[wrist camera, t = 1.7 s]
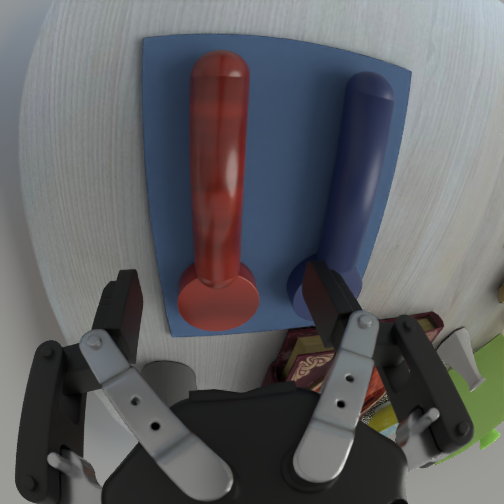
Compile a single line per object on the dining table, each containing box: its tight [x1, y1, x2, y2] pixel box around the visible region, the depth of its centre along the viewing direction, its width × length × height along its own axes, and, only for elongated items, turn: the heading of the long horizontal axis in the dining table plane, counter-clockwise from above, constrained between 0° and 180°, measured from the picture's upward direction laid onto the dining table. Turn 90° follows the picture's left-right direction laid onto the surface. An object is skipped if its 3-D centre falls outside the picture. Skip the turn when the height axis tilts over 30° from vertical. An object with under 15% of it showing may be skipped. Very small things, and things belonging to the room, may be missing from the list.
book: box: [262, 312, 444, 420], centre depth 33 cm, size 28×21×5 cm
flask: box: [436, 328, 485, 392], centre depth 33 cm, size 7×7×10 cm
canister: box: [434, 333, 504, 465], centre depth 44 cm, size 25×21×23 cm
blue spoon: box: [286, 71, 395, 321], centre depth 17 cm, size 18×6×3 cm, turn 177°
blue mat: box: [142, 34, 412, 337], centre depth 18 cm, size 22×16×1 cm
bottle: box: [138, 361, 197, 442], centre depth 21 cm, size 6×6×15 cm
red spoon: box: [177, 50, 260, 331], centre depth 16 cm, size 18×6×3 cm, turn 177°
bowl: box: [368, 401, 399, 436], centre depth 45 cm, size 11×12×6 cm
